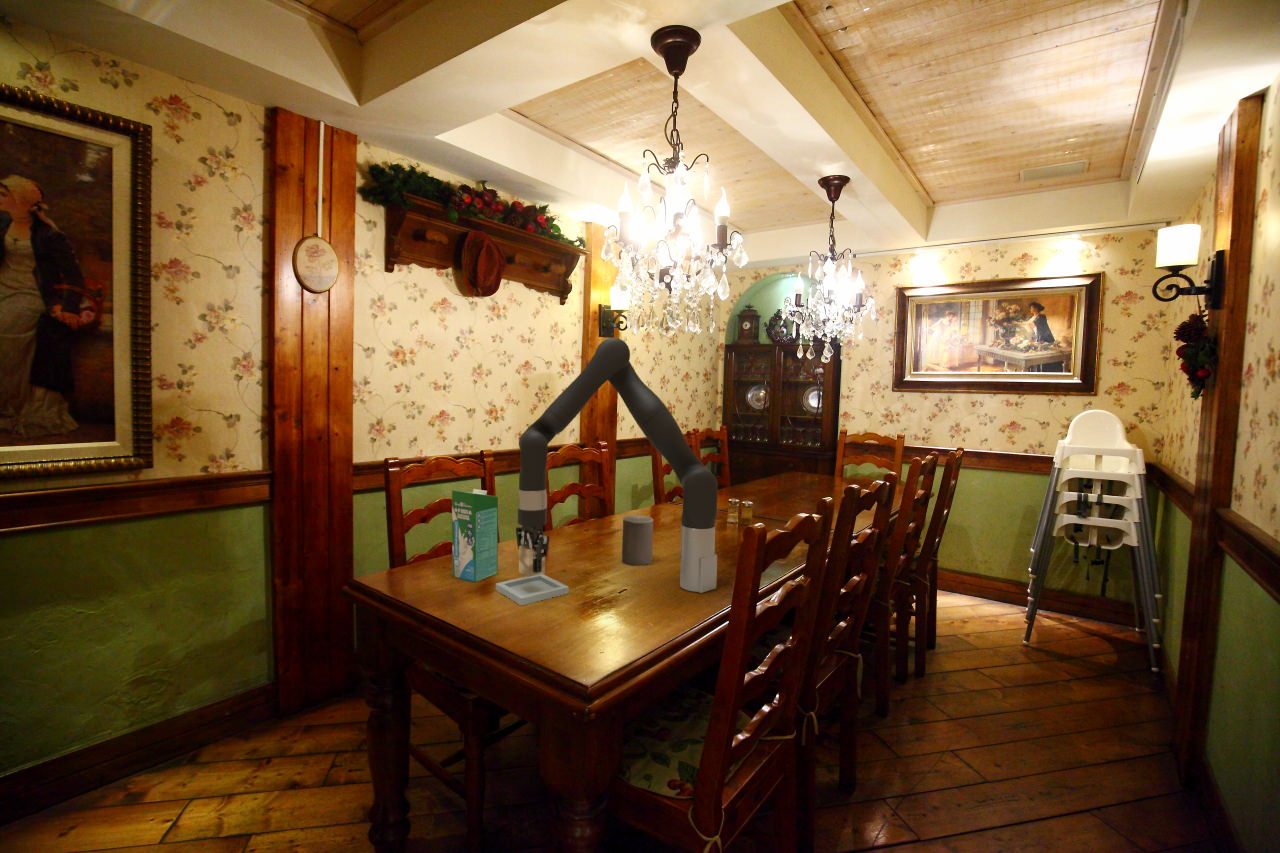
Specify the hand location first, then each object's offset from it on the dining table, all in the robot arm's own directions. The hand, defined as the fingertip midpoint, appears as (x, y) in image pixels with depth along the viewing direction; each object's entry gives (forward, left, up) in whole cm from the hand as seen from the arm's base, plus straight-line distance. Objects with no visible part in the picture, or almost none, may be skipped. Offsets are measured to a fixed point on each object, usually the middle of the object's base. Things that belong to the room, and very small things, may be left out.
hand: (531, 569), depth 152 cm
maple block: (0, 0, -1) cm, 1 cm away
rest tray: (0, 0, -6) cm, 6 cm away
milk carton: (+22, +6, -6) cm, 24 cm away
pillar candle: (+4, -40, -6) cm, 41 cm away
